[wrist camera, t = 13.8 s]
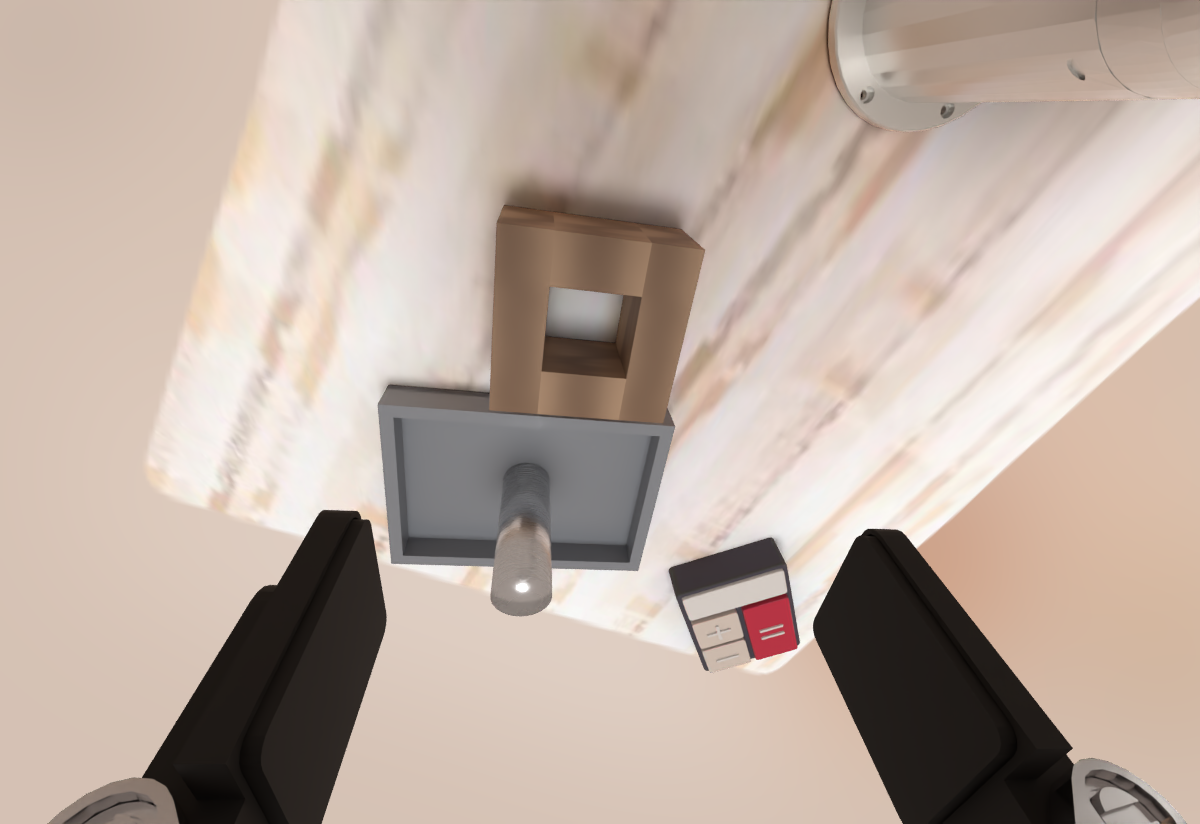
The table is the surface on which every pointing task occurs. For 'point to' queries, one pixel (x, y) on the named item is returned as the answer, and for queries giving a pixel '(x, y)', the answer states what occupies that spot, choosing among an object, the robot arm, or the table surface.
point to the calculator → (737, 605)
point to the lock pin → (523, 543)
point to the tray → (479, 462)
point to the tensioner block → (601, 264)
